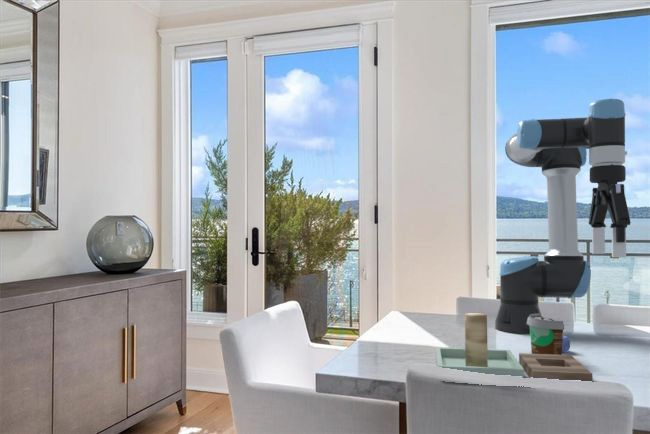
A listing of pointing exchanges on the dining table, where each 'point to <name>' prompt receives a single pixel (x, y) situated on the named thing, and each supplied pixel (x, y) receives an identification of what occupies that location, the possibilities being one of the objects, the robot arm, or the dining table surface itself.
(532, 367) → the dowel block
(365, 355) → the dining table surface
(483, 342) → the dowel
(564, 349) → the decorative dice
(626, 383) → the dining table surface
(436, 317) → the dining table surface
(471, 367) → the tray
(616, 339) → the dining table surface
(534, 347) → the food container
